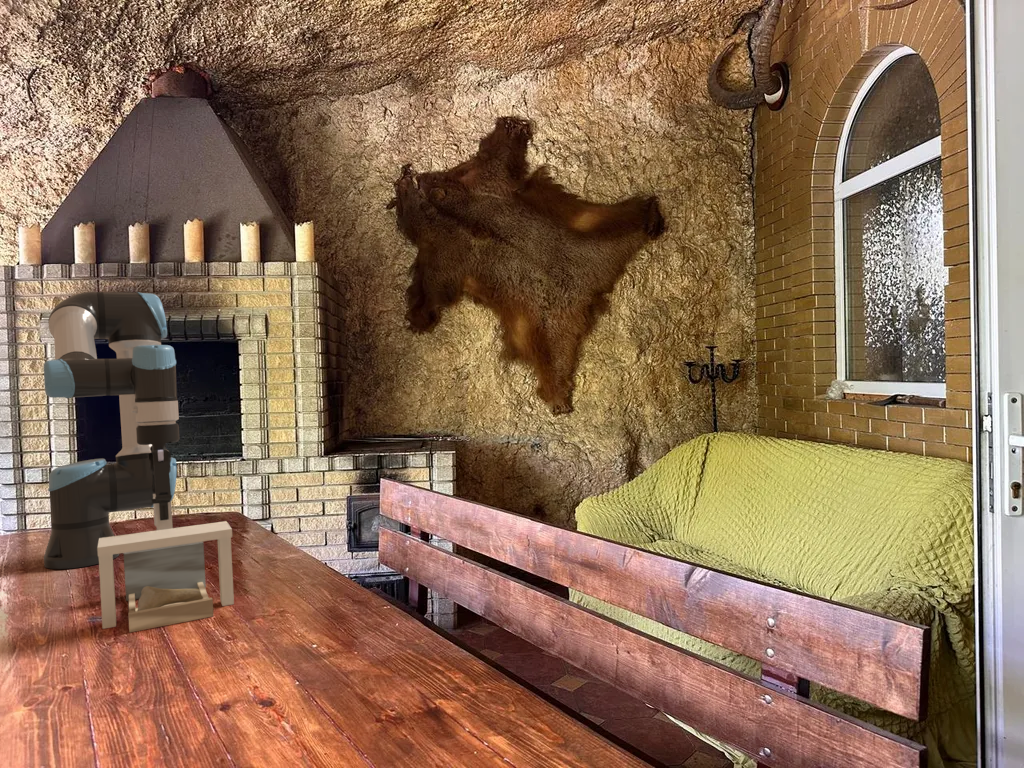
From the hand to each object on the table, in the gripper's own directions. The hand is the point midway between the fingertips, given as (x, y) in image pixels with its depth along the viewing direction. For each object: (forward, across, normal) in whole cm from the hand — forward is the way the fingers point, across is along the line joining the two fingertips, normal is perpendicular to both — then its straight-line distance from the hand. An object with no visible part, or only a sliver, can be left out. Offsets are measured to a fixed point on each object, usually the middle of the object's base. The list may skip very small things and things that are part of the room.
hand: (163, 530), depth 137 cm
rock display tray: (+12, +9, 0) cm, 15 cm away
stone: (+12, +14, 0) cm, 18 cm away
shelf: (+12, +14, 0) cm, 19 cm away
